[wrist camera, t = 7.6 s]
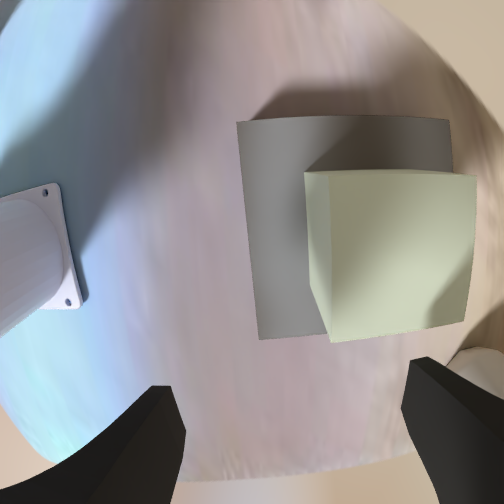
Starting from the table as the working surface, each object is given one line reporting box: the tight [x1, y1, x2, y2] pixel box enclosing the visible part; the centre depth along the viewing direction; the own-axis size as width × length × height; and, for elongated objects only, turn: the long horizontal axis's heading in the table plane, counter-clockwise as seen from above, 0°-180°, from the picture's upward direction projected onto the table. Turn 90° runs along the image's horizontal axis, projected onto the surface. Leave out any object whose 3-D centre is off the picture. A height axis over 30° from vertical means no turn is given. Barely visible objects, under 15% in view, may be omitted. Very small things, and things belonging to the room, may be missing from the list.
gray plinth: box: [236, 115, 453, 340], centre depth 15 cm, size 10×10×3 cm
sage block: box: [304, 169, 477, 343], centre depth 11 cm, size 5×5×5 cm
